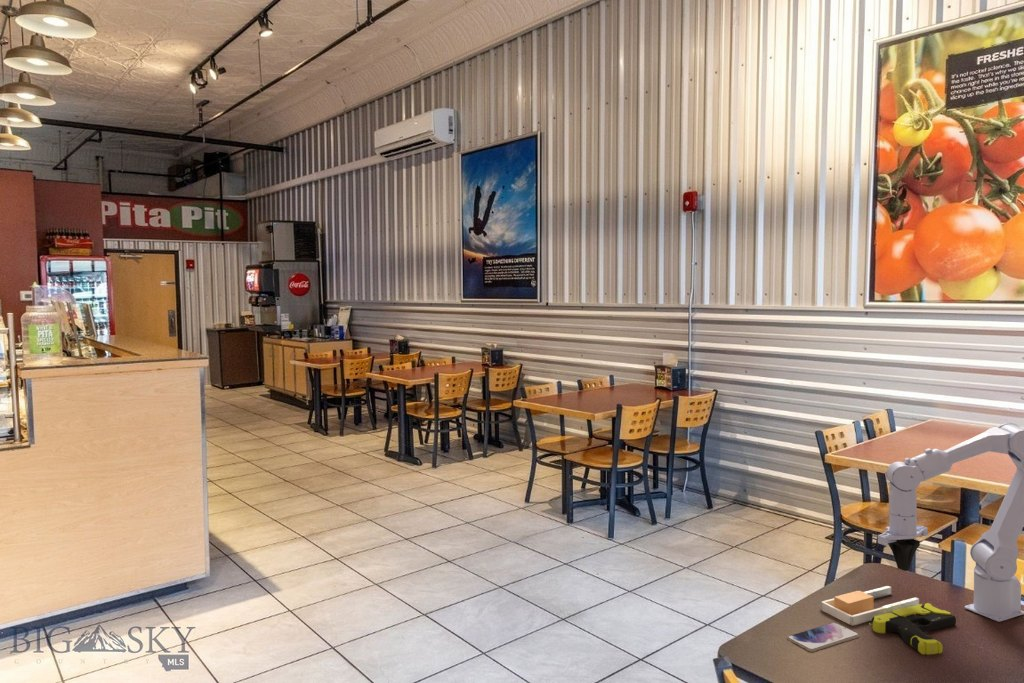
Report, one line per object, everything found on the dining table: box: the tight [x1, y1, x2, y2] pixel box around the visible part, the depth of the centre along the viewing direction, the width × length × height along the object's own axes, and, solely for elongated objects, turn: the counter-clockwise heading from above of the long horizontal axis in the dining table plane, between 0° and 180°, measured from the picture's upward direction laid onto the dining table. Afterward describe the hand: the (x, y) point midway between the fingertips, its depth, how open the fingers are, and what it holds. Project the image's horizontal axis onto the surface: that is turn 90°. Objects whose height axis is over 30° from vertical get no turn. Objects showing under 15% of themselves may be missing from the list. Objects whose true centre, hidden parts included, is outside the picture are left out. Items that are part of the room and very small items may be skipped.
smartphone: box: [786, 622, 860, 653], centre depth 149 cm, size 7×1×15 cm
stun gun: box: [868, 602, 957, 656], centre depth 150 cm, size 3×19×15 cm
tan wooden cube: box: [833, 593, 861, 615], centre depth 159 cm, size 4×4×4 cm
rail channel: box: [863, 585, 920, 614], centre depth 164 cm, size 11×8×2 cm
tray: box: [820, 597, 886, 626], centre depth 160 cm, size 11×9×2 cm
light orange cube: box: [846, 590, 875, 613], centre depth 161 cm, size 4×4×4 cm
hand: (903, 569), depth 163 cm, fingers closed
